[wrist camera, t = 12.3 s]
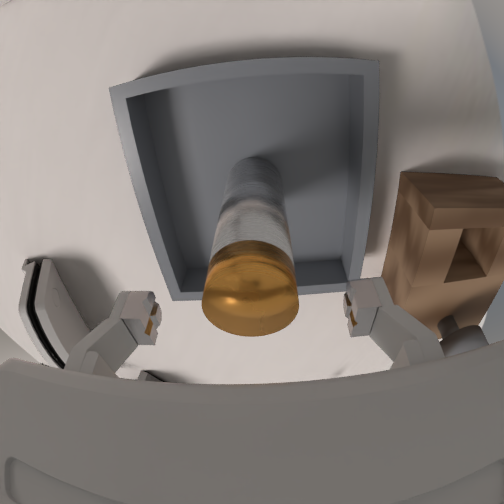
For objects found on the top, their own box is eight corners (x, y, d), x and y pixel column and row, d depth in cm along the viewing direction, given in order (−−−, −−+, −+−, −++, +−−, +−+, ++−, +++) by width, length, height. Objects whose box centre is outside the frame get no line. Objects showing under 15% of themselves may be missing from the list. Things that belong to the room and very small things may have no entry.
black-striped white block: (23, 257, 28) (1, 317, 20) (53, 249, 29) (35, 310, 22) (73, 341, 38) (70, 396, 31) (98, 336, 39) (99, 393, 32)
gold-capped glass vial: (224, 159, 20) (191, 275, 11) (280, 155, 20) (299, 269, 11) (231, 207, 23) (211, 337, 13) (282, 203, 23) (298, 334, 13)
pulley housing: (400, 171, 21) (475, 259, 12) (497, 177, 20) (569, 247, 11) (373, 305, 31) (400, 394, 22) (455, 293, 30) (492, 367, 21)
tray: (133, 80, 17) (108, 87, 14) (357, 58, 16) (378, 60, 13) (181, 270, 28) (172, 300, 25) (347, 260, 27) (357, 290, 24)
